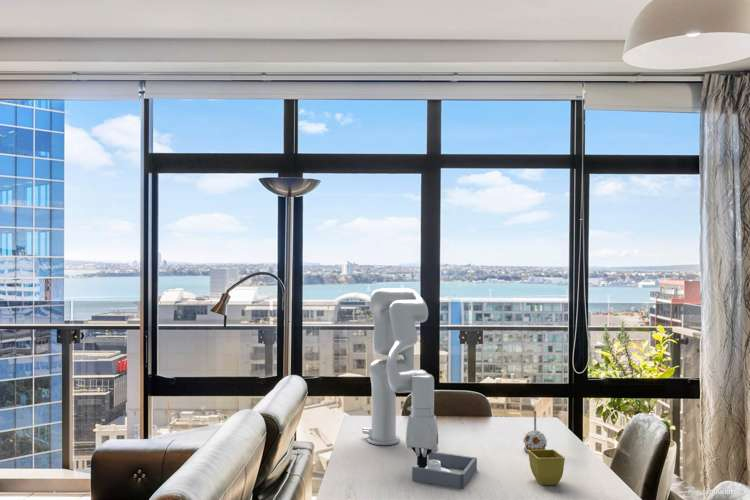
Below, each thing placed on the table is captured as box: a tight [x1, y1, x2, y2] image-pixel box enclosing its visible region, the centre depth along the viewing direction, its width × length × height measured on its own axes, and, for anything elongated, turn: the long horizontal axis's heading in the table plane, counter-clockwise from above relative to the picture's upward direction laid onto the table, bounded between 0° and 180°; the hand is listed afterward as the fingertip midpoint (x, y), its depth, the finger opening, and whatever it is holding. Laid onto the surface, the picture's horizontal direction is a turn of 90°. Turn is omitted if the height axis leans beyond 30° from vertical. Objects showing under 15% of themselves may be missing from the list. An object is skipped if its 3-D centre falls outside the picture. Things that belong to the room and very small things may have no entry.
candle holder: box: [425, 460, 452, 472], centre depth 181 cm, size 12×12×4 cm
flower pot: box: [527, 448, 566, 486], centre depth 175 cm, size 9×9×9 cm
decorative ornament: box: [523, 410, 547, 453], centre depth 205 cm, size 8×8×15 cm
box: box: [411, 451, 478, 490], centre depth 180 cm, size 16×18×4 cm
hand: (422, 467), depth 183 cm, fingers closed
